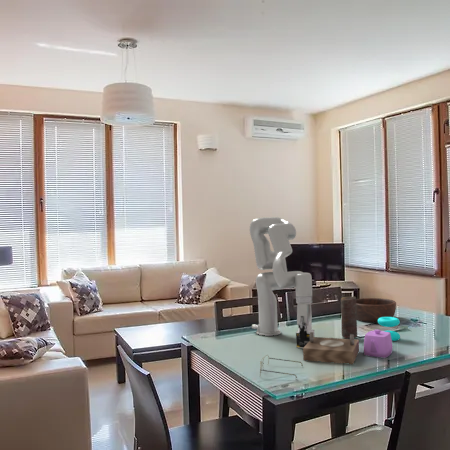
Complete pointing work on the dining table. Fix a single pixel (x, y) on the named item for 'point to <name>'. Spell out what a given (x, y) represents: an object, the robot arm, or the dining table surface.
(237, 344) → the dining table surface
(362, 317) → the wooden bowl
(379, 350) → the teapot
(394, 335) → the donuts
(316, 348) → the stand
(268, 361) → the eyeglasses
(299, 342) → the medicine bottle
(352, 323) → the brown rusty cylinder
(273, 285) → the robot arm
